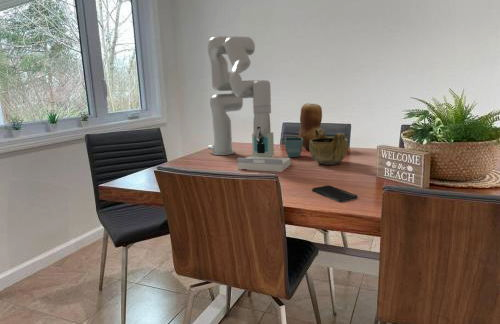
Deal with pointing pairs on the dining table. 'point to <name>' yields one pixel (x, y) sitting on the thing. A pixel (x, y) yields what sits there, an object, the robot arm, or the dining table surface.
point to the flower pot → (293, 146)
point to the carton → (268, 146)
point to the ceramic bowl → (328, 148)
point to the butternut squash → (309, 122)
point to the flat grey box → (264, 163)
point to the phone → (334, 193)
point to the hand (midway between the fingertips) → (263, 151)
